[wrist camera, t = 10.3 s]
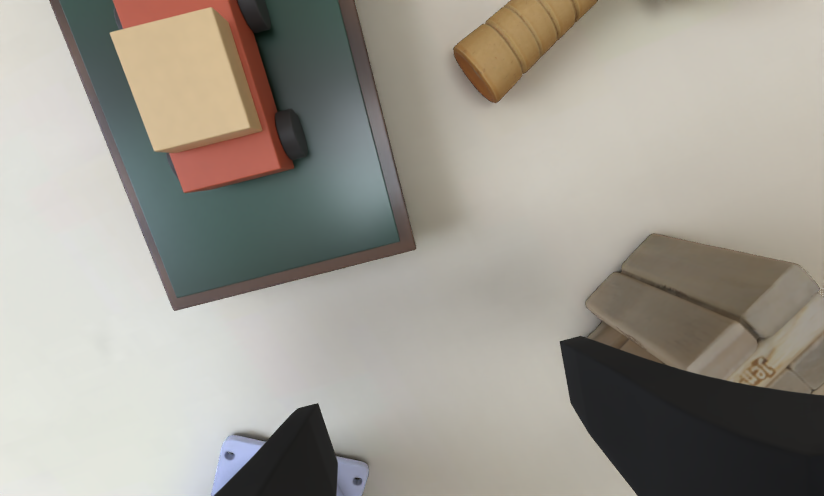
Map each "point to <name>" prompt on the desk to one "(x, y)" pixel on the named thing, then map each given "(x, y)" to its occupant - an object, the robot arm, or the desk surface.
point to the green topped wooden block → (269, 195)
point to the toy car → (206, 89)
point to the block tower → (715, 314)
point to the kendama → (515, 42)
